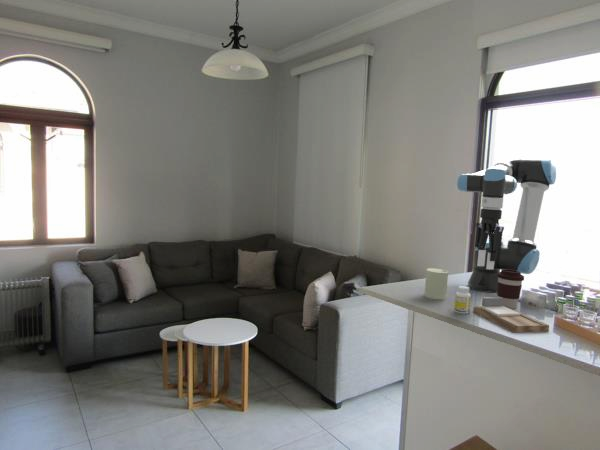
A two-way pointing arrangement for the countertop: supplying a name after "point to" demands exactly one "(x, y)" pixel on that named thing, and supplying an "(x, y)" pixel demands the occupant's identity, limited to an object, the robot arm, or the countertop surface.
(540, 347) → the countertop surface
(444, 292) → the can
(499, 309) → the lid
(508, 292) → the coffee cup
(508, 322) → the board
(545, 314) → the countertop surface
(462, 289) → the supplement bottle
